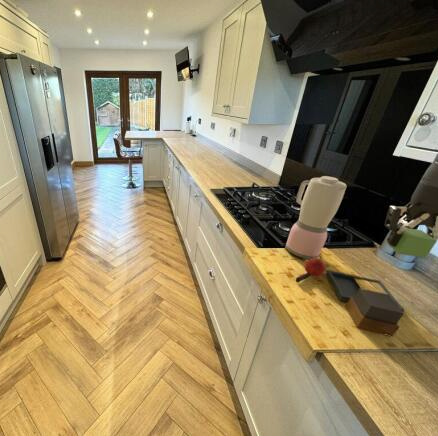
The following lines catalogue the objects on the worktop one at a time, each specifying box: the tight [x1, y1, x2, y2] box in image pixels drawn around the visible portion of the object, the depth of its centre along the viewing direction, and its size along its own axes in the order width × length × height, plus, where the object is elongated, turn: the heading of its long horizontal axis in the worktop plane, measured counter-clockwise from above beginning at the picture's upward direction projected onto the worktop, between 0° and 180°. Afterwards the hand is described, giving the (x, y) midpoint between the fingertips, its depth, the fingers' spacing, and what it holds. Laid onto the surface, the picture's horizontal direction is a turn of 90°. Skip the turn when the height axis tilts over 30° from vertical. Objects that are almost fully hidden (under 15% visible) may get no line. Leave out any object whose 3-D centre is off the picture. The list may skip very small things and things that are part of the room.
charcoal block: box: [354, 287, 405, 324], centre depth 65 cm, size 7×7×4 cm
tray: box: [325, 269, 405, 312], centre depth 77 cm, size 16×14×2 cm
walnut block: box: [345, 297, 401, 337], centre depth 66 cm, size 8×8×4 cm
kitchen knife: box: [295, 266, 327, 283], centre depth 84 cm, size 18×1×2 cm, turn 117°
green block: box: [385, 228, 438, 259], centre depth 59 cm, size 6×6×5 cm
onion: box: [304, 256, 326, 277], centre depth 83 cm, size 6×6×8 cm
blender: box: [284, 175, 348, 261], centre depth 92 cm, size 16×12×32 cm
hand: (406, 247), depth 60 cm, fingers closed on green block, 5 cm apart
